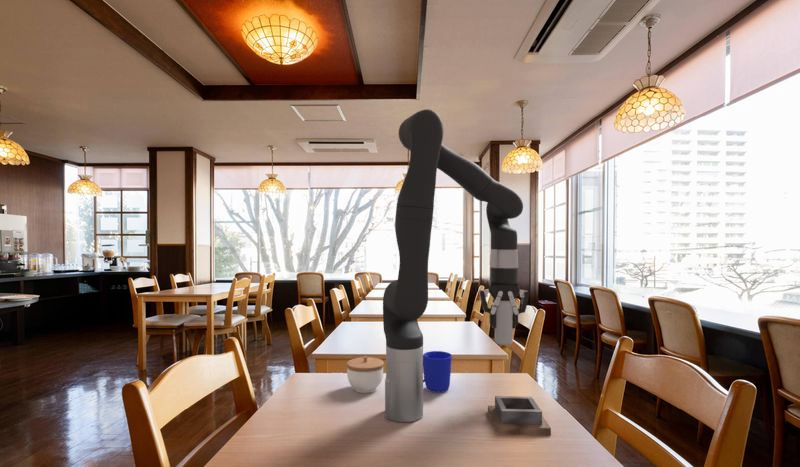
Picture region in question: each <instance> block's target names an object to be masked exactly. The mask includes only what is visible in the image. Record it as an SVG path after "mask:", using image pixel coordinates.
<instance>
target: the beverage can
mask: <svg viewBox="0 0 800 467" xmlns="http://www.w3.org/2000/svg"><path fill="white" fill-rule="evenodd" d="M495 315H496V328H494V342H495V344H497V345H498V346H499V345H500V346H511V345H512V343H513V338H514V337H513V335H514V334H513V333H514V332H513V331H514V330H513V329H514V328H513V308H512V304H511V302H510V301H500V302H499V305H498V307H497V309H496V312H495Z"/></svg>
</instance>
